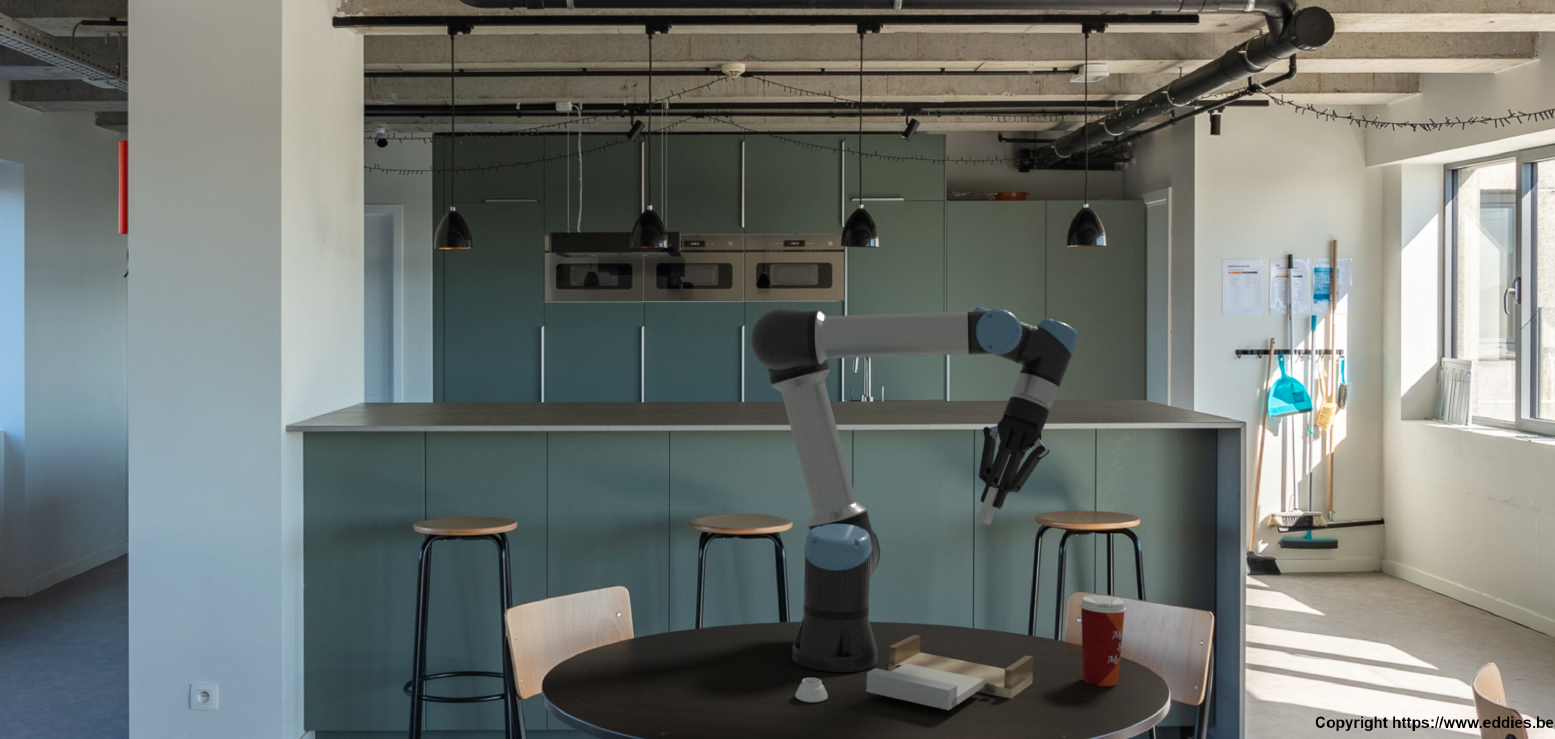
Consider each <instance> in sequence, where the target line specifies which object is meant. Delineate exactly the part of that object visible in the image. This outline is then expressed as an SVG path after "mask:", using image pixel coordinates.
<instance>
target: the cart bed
mask: <svg viewBox="0 0 1555 739" xmlns="http://www.w3.org/2000/svg"><path fill="white" fill-rule="evenodd" d="M921 636H922V635H919V634H918V635H917V634H913V635H912V636H911V635H910V636H909V637H907V638H905V639H902V640H900V641H898V642H897V643H894V644H892V645H890V646H889V647H888V648H889V649H888V650H889V651H888V654H889V655H888V671H893V670H894V669H896V668H898V667H900V666H902V665H904V664H906V663H907V664H912V665H916V666H921V667H926V668H931V669H936V670H941V671H946V672H951V673H956V674H961V675H965V676H970V677H975V678H980V679H984V687H983V688H982V689H980V690H979V691H977V692H978V693H983V694H986V695H987V694H988V695H992V696H997V697H1000V698H1006V699H1010V700H1011V699H1012V698H1014V697H1015V696H1017V695H1018V694H1020V693H1021V692H1023V690H1025V689H1026V688H1028V687H1029V686H1031V685H1032V684H1033V679H1034V678H1033V675H1034V672H1033V669H1034V656H1031V655H1024V656H1023V657H1021V658H1020V659H1019V660H1017V661H1016V662H1014V663H1012V664H1010V665H1009V666H1007V667H1006V668H1001V667H996V666H992V665H987V664H981V663H975V662H970V661H966V660H960V659H957V658H956V659H955V658H951V657H947V656H942V655H941V656H940V655H934V654H930V653H925V652H921V639H922V638H921ZM977 692H976V693H977Z"/></svg>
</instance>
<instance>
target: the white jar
mask: <svg viewBox="0 0 1555 739" xmlns="http://www.w3.org/2000/svg"><path fill="white" fill-rule="evenodd" d="M795 698H796V699H798V700H799V701H801V702H806V703H813V704H814V703H821V702H823V701H825V700H827V699H828V692H827V690H826V687H825V686H824V684H822V680H821V679H819V678H816V677H805V678H803V679H802V680H801V683H800V684H799V685H798V687H797V690H796V692H795Z"/></svg>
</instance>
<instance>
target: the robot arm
mask: <svg viewBox="0 0 1555 739" xmlns="http://www.w3.org/2000/svg"><path fill="white" fill-rule="evenodd" d="M1077 341H1078V332H1077V330H1076V329H1075V328H1074V327H1072V326H1070V325H1069V324H1067V323H1065V322H1062V321H1060V320H1055V319H1052V318H1042V319H1041V320H1040V321H1039V323H1038V324H1037V325H1033V324H1029V323H1026V322H1024V321H1021V320H1019V318H1018V317H1017V316H1016V315H1015V314H1014V313H1013V312H1011V311H1010V310H1009V311H1008V310H1006V309H1003V308H1002V309H1000V308H998V309H997V308H994V309H992V308H990V309H989V308H986V307H983V306H977V307H976V308H975V309H974V310H973V311H950V312H949V311H946V312H914V313H885V314H884V313H882V314H853V315H851V314H850V315H826V314H824V312H822V311H821V310H796V309H791V308H787V307H779V308H774V309H770V310H768V311H766V312H765V313H763V314H761V316H760V317H759V318H758V319H757V320H756V322H755V323H754V325H753V327H752V330H751V334H750V345H751V349H752V351H753V354H754V356H755V357H756V359H757V360H758V361H759V362H760V363H761V364H762V365H764V366H765V367H766V369H767V373H768V377H769V381H770V384H771V387H772V388H774V390H777V391H778V392H780V393H781V395H782V400H783V404H784V408H785V410H786V414H787V418H788V422H789V426H790V430H791V433H792V438H793V440H794V445H795V448H796V452H797V456H798V460H799V464H800V468H801V472H802V476H803V479H804V482H805V487H806V490H807V494H808V497H809V502H810V505H811V510H812V514H811V515H812V516H811V517H810V519H809V521H808V522H807V525H808V529H809V531H808V532H807V534H806V537H805V544H804V547H803V549H804V582H803V583H804V586H803V587H804V588H803V615H802V619H801V622H800V625H799V628H798V629H797V633H796V636H795V639H794V642H793V645H792V661H793V662H794V663H796V664H797V665H799V666H801V667H804V668H807V669H810V670H815V671H821V672H830V673H850V672H851V673H853V672H859V671H860V672H861V671H865V670H868V669H871V668H873V667H875V666H876V665H877V664H878V647H877V643H876V640H875V636H874V633H873V630H872V626H871V623H870V622H871V621H870V618H869V617H870V616H869V611H870V581H871V577H872V575H873V574H874V573H875V571H876V569H877V568H878V565H879V562H880V558H881V544H880V541H879V538H878V537H877V534H876V532H874V530H873V528H872V525H871V520H870V517H869V514H868V510H867V507H865V506H864V505H862V504H860V503H858V502H857V499H856V496H855V491H854V488H853V484H852V481H851V476H850V472H849V469H848V465H847V462H846V457H845V455H844V454H845V453H844V449H843V447H842V446H843V445H842V443H841V439H840V435H839V432H838V427H837V424H836V420H835V416H834V413H833V409H832V405H831V402H830V397H829V394H828V390H827V386H826V379H827V377H828V375H829V373H830V372H831V371H830V367H829V362H828V359H850V358H851V359H855V358H857V359H858V358H883V357H885V358H887V357H892V358H893V357H917V356H918V357H923V356H924V357H925V356H955V355H959V356H960V355H961V356H962V355H995V356H998V357H1000V358H1003V359H1006V360H1009V361H1012V362H1014V363H1016V364H1019V365H1021V366H1022V367H1021V369H1020V372H1019V374H1018V377H1017V380H1016V381H1015V384H1014V387H1013V389H1012V391H1011V392H1012V395H1013V396H1011V397H1009V399H1008V401H1007V403H1006V406H1005V410H1004V412H1003V415H1002V416H1003V417H1002V418H1001V420H1000V421H998V422H997V425H995V426H991V427H988V426H984V427H983V429H982V432H983V438H984V441H983V448H982V453H981V460H980V465H979V466H980V468H979V472H978V477H979V479H981V480H982V481H983V482H984V483H985V487H984V489H983V491H982V494H981V496H980V502H981V503H982V505H981V507H980V510H979V514H978V516H977V519H976V520H977V521H978V522H981V523H983V524H986V525H988V526H991V524H992V521H993V519H994V517H995V513H996V511H997V509H999V510H1001V508H1003V505H1004V502H1005V500H1006V497H1007V495H1008V494H1009V493H1016V494H1017V493H1019V492H1020V491H1021V489H1022V487H1024V485H1025V483H1026V482H1027V480H1029V477H1030V476H1031V474H1032V473H1033V471H1034V470H1035V468H1036V467H1037V466H1038V464H1039V463H1040V461H1041V460H1042V459H1044V458H1045V457H1046V456H1048V455H1049V453H1050V450H1049V448H1048V447H1046V446H1045V445H1044V443H1043V442H1042V431H1043V429H1044V428H1045V425H1046V423H1047V420H1048V417H1049V415H1050V410H1049V409H1050V408H1052V406H1053V404H1054V402H1055V398H1056V396H1057V393H1058V391H1059V388H1060V386H1061V383H1062V381H1063V378H1064V376H1065V374H1066V371H1067V369H1068V367H1069V364H1070V362H1071V359H1072V356H1073V353H1074V350H1075V347H1076V344H1077ZM998 436H999V441H1000V442H999V444H998V448H997V449H998V450H997V453H996V456H995V450H996V442H997V441H996V440H997V438H998ZM1031 448H1032V451H1030V453H1029V454H1028V456H1027V457H1026V458H1025V460H1024V462H1023V463H1022V460H1023V459H1024V457H1025V455H1026V454H1027V451H1029V450H1030V449H1031ZM994 456H995V458H994ZM1021 463H1022V465H1021V466H1020V464H1021Z"/></svg>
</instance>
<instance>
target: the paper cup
mask: <svg viewBox="0 0 1555 739" xmlns="http://www.w3.org/2000/svg"><path fill="white" fill-rule="evenodd" d="M1078 606H1079V607H1080V608H1081V609H1080V611H1081V612H1080V613H1081V614H1080V615H1081V637H1082V638H1081V643H1082V644H1081V647H1082V648H1081V649H1082V671H1083V672H1082V673H1083V681H1084V682H1085V683H1087V684H1089V685H1093V686H1098V687H1107V688H1108V687H1114V686H1117V685H1118V682H1119V676H1120V675H1119V673H1120V666H1121V665H1120V663H1121V654H1122V652H1121V651H1122V643H1123V633H1124V622H1125V621H1124V620H1125V612H1126V611H1127V610H1128V609H1127V608H1126V606H1125V602H1124V600H1122V599H1120V598H1117V597H1113V596H1108V595H1107V596H1106V595H1086V596H1083V597H1082V599H1081V602H1080V603H1079V605H1078Z"/></svg>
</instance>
